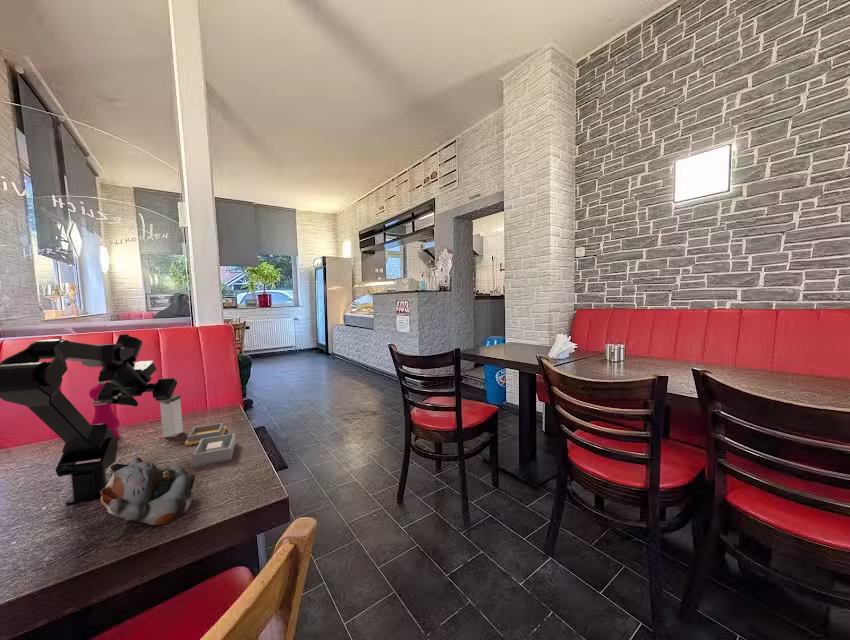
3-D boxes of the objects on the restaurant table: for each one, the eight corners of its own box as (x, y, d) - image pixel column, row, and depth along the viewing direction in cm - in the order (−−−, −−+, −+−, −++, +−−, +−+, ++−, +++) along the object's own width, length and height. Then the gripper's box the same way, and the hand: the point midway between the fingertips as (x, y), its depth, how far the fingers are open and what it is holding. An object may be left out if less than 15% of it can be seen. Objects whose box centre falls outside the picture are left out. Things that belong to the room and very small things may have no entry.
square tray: (222, 439, 109) (221, 431, 109) (185, 445, 105) (184, 437, 105) (226, 429, 118) (225, 421, 118) (192, 434, 114) (191, 426, 114)
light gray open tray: (231, 460, 94) (230, 447, 94) (193, 467, 91) (192, 454, 90) (236, 443, 105) (235, 432, 105) (202, 450, 101) (201, 438, 101)
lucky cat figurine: (186, 523, 68) (137, 479, 61) (123, 556, 65) (67, 514, 59) (204, 469, 81) (165, 428, 75) (152, 495, 79) (109, 456, 72)
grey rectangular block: (175, 436, 112) (172, 398, 112) (162, 437, 112) (159, 399, 111) (183, 431, 116) (180, 394, 116) (170, 432, 116) (167, 395, 115)
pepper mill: (117, 432, 117) (112, 376, 116) (123, 437, 113) (118, 378, 112) (88, 440, 112) (82, 380, 110) (93, 445, 107) (87, 383, 106)
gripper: (171, 351, 100) (194, 380, 112) (102, 355, 98) (132, 383, 109) (155, 383, 93) (181, 410, 104) (80, 388, 91) (115, 415, 102)
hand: (153, 404), depth 105 cm, fingers open, 9 cm apart
